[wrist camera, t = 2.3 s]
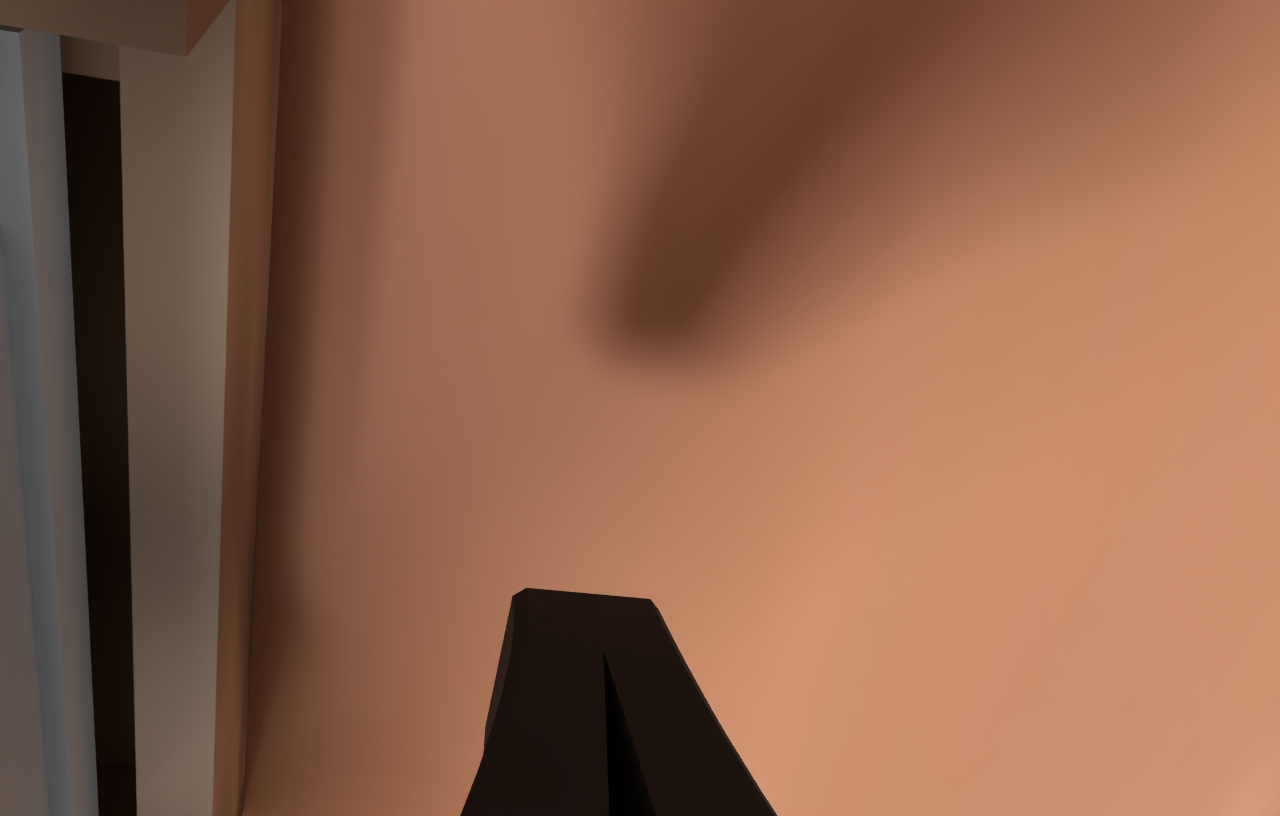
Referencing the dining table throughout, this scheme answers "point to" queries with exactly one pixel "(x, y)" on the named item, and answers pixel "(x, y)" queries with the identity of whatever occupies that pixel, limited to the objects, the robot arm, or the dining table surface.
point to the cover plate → (40, 455)
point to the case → (168, 373)
